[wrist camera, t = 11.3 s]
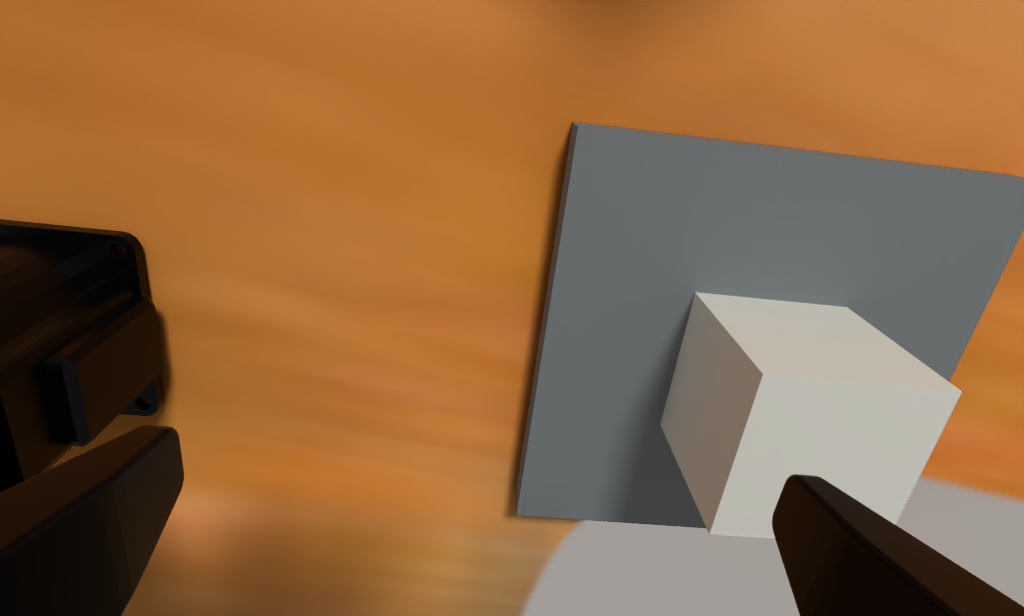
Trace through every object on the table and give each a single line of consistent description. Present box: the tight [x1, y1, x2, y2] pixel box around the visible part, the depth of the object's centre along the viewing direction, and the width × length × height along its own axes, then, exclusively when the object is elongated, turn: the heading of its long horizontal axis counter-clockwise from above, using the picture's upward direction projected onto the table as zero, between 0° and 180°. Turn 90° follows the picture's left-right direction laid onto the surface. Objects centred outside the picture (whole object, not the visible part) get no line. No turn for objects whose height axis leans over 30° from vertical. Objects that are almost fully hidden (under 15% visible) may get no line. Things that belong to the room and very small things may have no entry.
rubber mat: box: [515, 122, 1024, 528], centre depth 20 cm, size 14×14×1 cm
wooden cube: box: [660, 292, 962, 539], centre depth 17 cm, size 5×5×5 cm
